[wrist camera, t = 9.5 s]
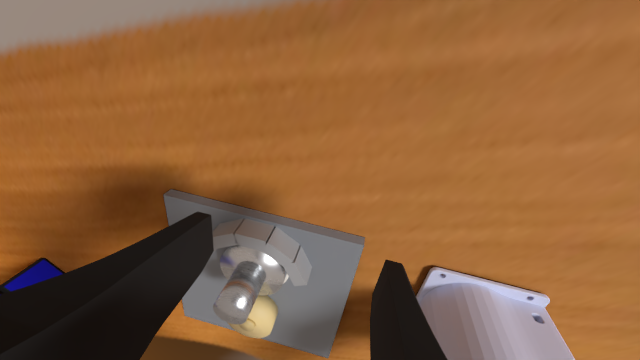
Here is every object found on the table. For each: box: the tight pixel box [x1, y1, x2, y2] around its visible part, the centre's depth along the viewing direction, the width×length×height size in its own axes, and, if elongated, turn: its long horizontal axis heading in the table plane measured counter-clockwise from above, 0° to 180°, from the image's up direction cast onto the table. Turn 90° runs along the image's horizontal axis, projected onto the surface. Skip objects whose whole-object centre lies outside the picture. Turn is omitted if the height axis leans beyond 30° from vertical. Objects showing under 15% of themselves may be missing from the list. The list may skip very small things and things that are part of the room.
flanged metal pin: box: [213, 245, 287, 324], centre depth 23 cm, size 6×6×6 cm
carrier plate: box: [163, 189, 365, 358], centre depth 27 cm, size 18×18×3 cm
